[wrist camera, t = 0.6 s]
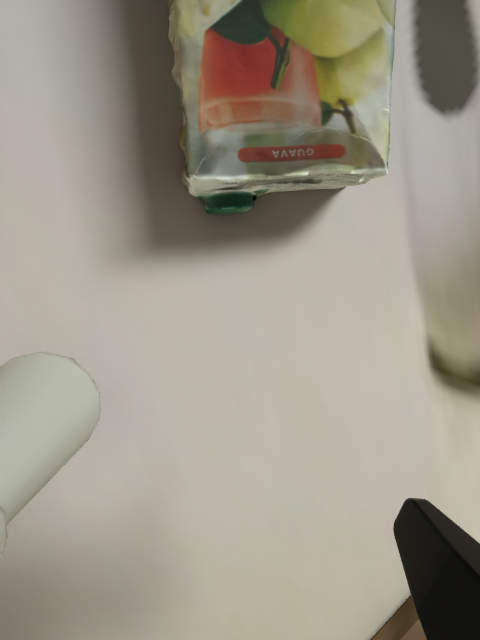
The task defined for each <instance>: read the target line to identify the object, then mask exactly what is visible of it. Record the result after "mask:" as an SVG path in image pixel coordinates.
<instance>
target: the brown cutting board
mask: <svg viewBox="0 0 480 640" xmlns="http://www.w3.org/2000/svg"><path fill="white" fill-rule="evenodd" d="M372 640H427V639H426V637H425V634H424V631H423V629H422V626H421V623H420V620H419V618H418V615H417V612H416V609H415V606H414V602H413V599H412V596H411V597H410V598H409V599H408V600H407V601H406V602H405V603H404V604H403V605H402V607H401V608H400V609H399V610H398V611H397V612H396V613H395V614H394V615H393V617H392V618H391V619H390V620H389V621H388V622H387V623H386V624H385V625H384V627H383V628H382V629H381V630H380V631H379V632H378V633H377V634H376V635H375V637H374V638H373V639H372Z"/></svg>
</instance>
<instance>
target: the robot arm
mask: <svg viewBox="0 0 480 640" xmlns="http://www.w3.org/2000/svg"><path fill="white" fill-rule="evenodd" d="M394 536H395V539H396V543H397V547H398V550H399V554H400V557H401V561H402V564H403V568H404V571H405V575H406V578H407V582H408V585H409V589H410V592H411V596H412V599H413V602H414V606H415V609H416V612H417V615H418V618H419V620H420V623H421V626H422V629H423V631H424V634H425V637H426V639H427V640H480V543H478V542H477V541H476V540H475V539H474V538H472V537H471V536H470V535H469V534H467V533H466V532H465V531H464V530H463V529H461V528H460V527H459V526H458V525H457V524H455V523H454V522H453V521H452V520H451V519H449V518H448V517H447V516H446V515H445V514H443V513H442V512H441V511H440V510H439V509H437V508H436V507H435V506H434V505H433V504H431V503H430V502H429V501H427V500H425V499H419V498H408V499H406V500H405V502H404V503H403V505H402V508H401V510H400V512H399V514H398V516H397V518H396V520H395V522H394Z"/></svg>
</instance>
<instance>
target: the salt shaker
mask: <svg viewBox="0 0 480 640" xmlns="http://www.w3.org/2000/svg"><path fill="white" fill-rule="evenodd" d="M99 416H100V392H99V390H98V388H97V386H96V384H95V382H94V381H93V379H92V378H91V376H90V374H89V373H88V372H87V371H86V370H85V369H83V368H82V367H81V366H80V365H79V364H78V363H77V362H76V361H75V360H74V359H73V358H68V357H63V356H58V355H54V354H49V353H45V352H40V353H35V354H30V355H24V356H19V357H16V358H13V359H11V360H9V361H8V362H7V363H5V364H4V365H3V366H1V367H0V558H1V556H2V554H3V552H4V550H5V548H6V544H7V538H8V536H7V524H8V523H9V522H10V521H11V520H12V519H13V518H14V517H15V516H16V515H17V514H18V513H19V512H20V511H21V510H22V509H23V508H24V507H25V505H26V504H27V503H28V502H29V501H30V500H31V499H32V498H33V497H34V496H35V495H36V494H37V493H38V492H39V491H40V490H41V489H42V488H43V487H44V486H45V485H46V484H47V483H48V481H49V480H50V479H51V478H52V477H53V476H54V475H55V474H56V473H57V472H58V471H59V470H60V469H61V468H62V467H63V466H64V465H65V464H66V463H67V462H68V461H69V460H70V459H71V457H72V456H73V455H74V454H75V453H76V452H77V451H78V450H79V449H80V448H81V447H82V446H83V445H84V444H85V443H86V442H87V441H88V440H89V438H90V436H91V434H92V432H93V430H94V428H95V426H96V424H97V422H98V420H99Z"/></svg>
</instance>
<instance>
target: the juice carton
mask: <svg viewBox="0 0 480 640" xmlns="http://www.w3.org/2000/svg"><path fill="white" fill-rule="evenodd" d="M167 4H168V9H169V12H170V15H169V17H168V19H169V23H170V25H169V34H168V39H169V41H170V42H171V44H172V48H173V51H174V56H175V64H174V66H173V69H172V71H171V73H172V76H173V81H174V83H175V84H176V85H177V86H178V88H179V90H180V101H179V106H180V108H181V109H182V111H183V127H182V128H181V129H180V132H179V147H180V149H181V150H182V151H183V152H184V154H185V160H186V164H185V169H184V170H183V171H182V175H181V180H182V183H183V184H184V185H185V186H187V187H188V190H189V193H190V194H191V195H193V196H195V197H197V198H199V199H200V200H201V201H202V202H203V204H204V205H205V210H206V213H208V214H233V213H243V212H246V211H248V210H250V209H251V208H252V207H253V206H254V204H253V202H254V200H255V199H256V198H257V197H258V196H260V195H262V194H265V193H270V192H287V191H297V190H308V189H339V188H343V187H346V186H355V185H360V184H365V183H366V182H367V181H369V180H371V179H373V178H377V177H381V176H384V175H386V174H388V155H389V144H390V107H391V91H392V85H391V80H392V68H393V59H394V30H395V13H396V0H168V3H167Z"/></svg>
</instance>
